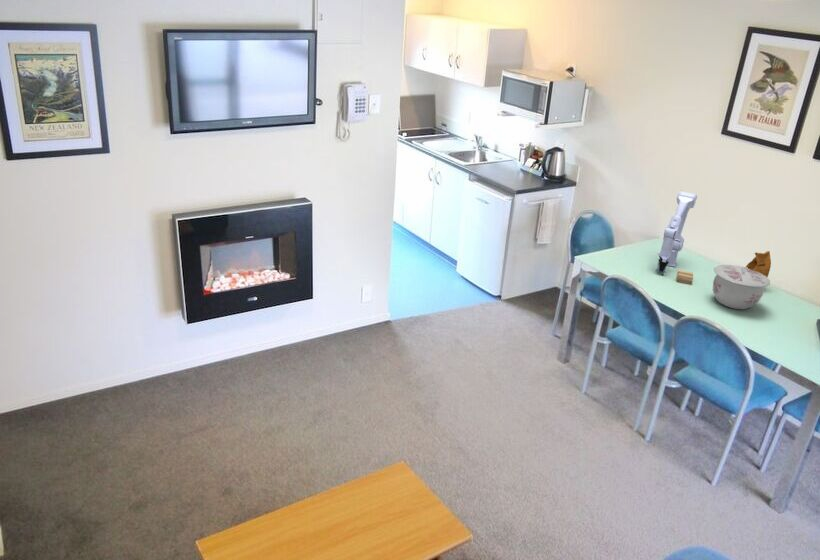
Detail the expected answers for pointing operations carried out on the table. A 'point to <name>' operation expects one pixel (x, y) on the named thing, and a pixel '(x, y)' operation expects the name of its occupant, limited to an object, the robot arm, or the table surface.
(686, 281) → the walnut slab
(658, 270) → the round block
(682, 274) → the oak slab
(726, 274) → the chamber pot
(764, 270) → the coffee package
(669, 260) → the robot arm
